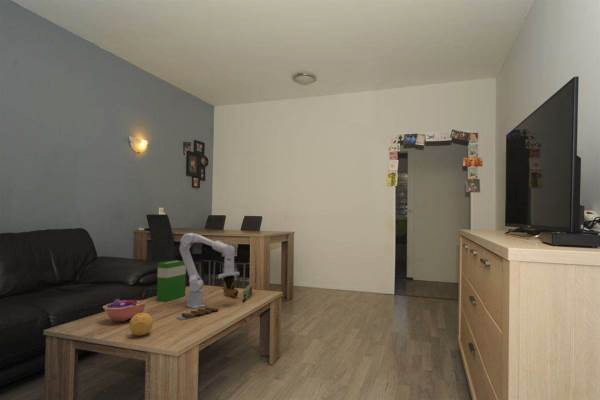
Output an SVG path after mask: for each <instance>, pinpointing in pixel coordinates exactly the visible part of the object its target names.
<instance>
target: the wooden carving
mask: <svg viewBox="0 0 600 400" xmlns="http://www.w3.org/2000/svg"><path fill="white" fill-rule="evenodd" d="M222 286H223V287H222V290H223V294H224V295H225V297H228V298H232V297H233V298H237V297H238V294H239V290H238V288H235V284H234V283H232V286H231V289H227V286H226V283H225V281H224V282H223V285H222Z"/></svg>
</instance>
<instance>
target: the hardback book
mask: <svg viewBox="0 0 600 400" xmlns="http://www.w3.org/2000/svg"><path fill="white" fill-rule="evenodd" d="M186 272H187V269H186V267H185V264H184V261H183V260H179V259H175V260H169V261H168V260H167V261H163V262H157V277H156V278H157V283H156V284H157V285H156V287H157V288H156V302H161V303H167V302H171V301H174V300H179V299H181V297H182V298H185V297H186V279H187V278H186ZM184 296H185V297H184Z"/></svg>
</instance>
